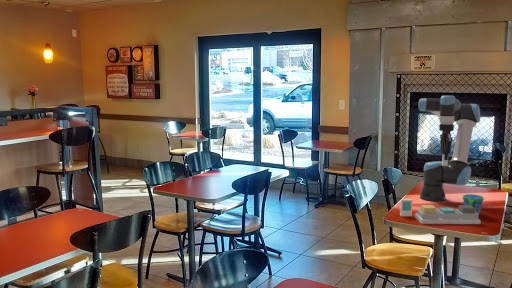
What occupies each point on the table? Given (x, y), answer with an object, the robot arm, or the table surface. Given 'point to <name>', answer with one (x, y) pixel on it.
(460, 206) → the charcoal button
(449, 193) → the table surface
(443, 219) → the board
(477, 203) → the snack cup
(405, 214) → the sign
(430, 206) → the mustard button
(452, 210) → the teal button
